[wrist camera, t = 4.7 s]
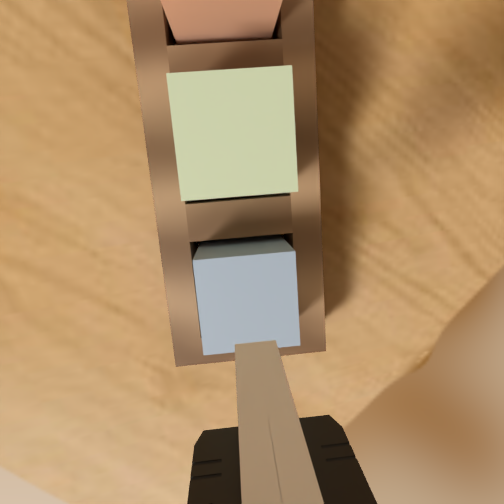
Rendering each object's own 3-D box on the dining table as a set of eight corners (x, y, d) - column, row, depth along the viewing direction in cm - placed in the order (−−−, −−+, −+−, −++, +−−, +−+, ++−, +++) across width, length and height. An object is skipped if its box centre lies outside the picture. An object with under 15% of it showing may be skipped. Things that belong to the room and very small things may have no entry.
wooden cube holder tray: (128, -81, 23) (108, -134, 19) (294, -88, 24) (307, -141, 20) (182, 341, 29) (175, 366, 25) (313, 328, 30) (325, 351, 26)
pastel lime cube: (184, 104, 23) (166, 73, 17) (273, 98, 24) (292, 65, 17) (194, 195, 25) (181, 201, 18) (279, 188, 25) (298, 191, 18)
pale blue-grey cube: (201, 239, 27) (192, 260, 20) (278, 233, 27) (295, 251, 21) (209, 312, 28) (203, 355, 21) (283, 305, 29) (300, 345, 22)
